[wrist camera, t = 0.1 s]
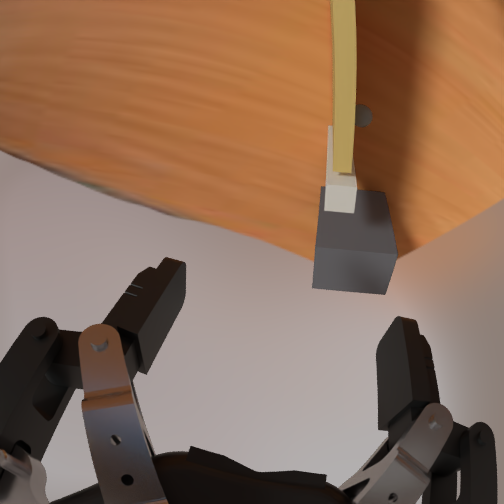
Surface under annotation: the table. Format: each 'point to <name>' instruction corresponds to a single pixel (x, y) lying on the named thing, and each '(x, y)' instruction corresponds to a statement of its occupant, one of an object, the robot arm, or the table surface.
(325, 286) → the rubber block
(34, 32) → the table surface
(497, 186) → the table surface
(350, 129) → the door
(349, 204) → the wall frame
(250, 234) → the table surface
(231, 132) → the table surface
